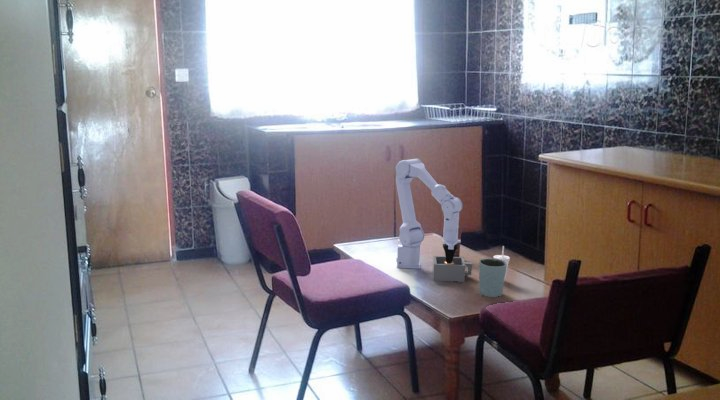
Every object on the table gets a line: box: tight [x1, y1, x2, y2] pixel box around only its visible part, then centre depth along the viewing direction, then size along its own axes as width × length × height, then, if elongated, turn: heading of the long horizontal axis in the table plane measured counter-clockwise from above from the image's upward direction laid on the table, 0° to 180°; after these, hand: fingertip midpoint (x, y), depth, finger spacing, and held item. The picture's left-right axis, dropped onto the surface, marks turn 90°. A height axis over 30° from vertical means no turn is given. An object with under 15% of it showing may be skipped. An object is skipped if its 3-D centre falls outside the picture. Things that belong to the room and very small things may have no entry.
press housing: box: [432, 255, 473, 283], centre depth 287 cm, size 15×12×6 cm
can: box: [454, 225, 463, 257], centre depth 314 cm, size 6×6×14 cm
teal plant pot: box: [478, 258, 507, 298], centre depth 268 cm, size 10×10×12 cm
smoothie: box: [492, 245, 511, 283], centre depth 283 cm, size 6×6×14 cm
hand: (449, 262), depth 287 cm, fingers closed, pressing on plunger
